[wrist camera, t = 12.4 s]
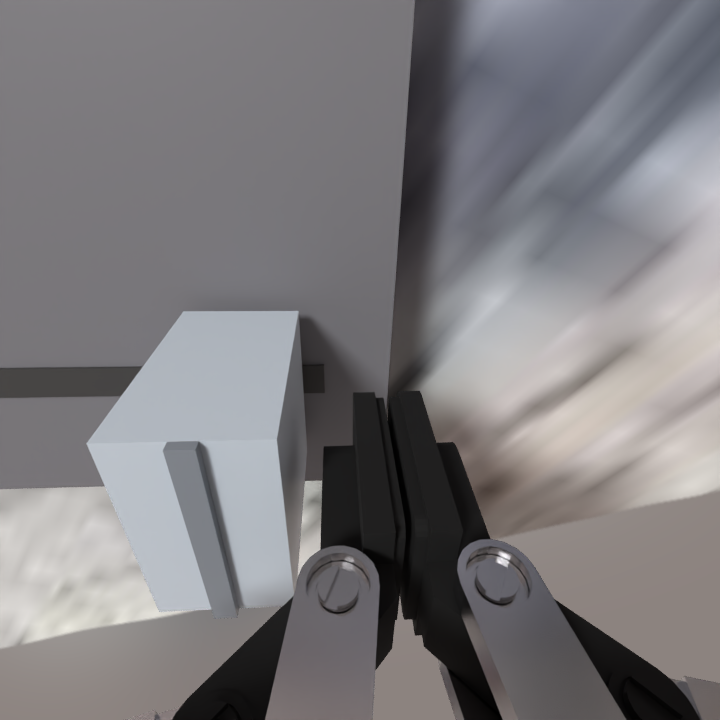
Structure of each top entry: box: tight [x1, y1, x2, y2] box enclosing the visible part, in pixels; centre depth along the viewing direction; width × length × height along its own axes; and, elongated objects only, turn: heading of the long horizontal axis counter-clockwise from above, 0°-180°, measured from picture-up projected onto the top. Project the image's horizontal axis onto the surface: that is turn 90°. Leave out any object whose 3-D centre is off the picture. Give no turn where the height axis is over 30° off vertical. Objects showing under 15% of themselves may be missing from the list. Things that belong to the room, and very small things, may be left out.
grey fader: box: [86, 311, 307, 619], centre depth 10 cm, size 5×3×5 cm, turn 179°
